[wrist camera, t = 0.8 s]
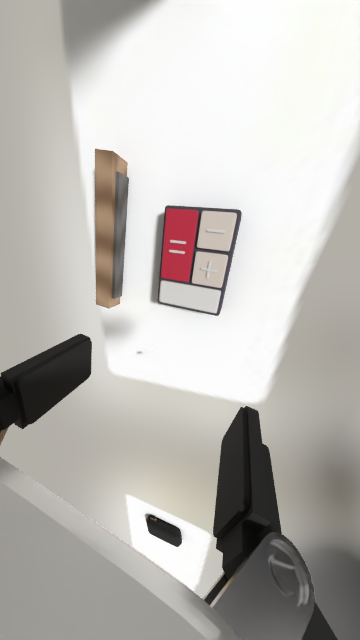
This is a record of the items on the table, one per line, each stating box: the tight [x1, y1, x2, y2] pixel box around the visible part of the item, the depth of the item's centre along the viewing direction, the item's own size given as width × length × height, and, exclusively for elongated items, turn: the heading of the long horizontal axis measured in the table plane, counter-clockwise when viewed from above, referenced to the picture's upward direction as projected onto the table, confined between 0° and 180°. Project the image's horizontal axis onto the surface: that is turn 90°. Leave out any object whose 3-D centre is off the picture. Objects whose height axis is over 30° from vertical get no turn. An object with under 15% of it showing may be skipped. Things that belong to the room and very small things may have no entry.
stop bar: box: [95, 149, 129, 308], centre depth 31 cm, size 24×4×4 cm, turn 168°
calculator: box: [158, 206, 241, 316], centre depth 28 cm, size 11×4×15 cm
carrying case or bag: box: [146, 515, 182, 547], centre depth 69 cm, size 11×3×15 cm
